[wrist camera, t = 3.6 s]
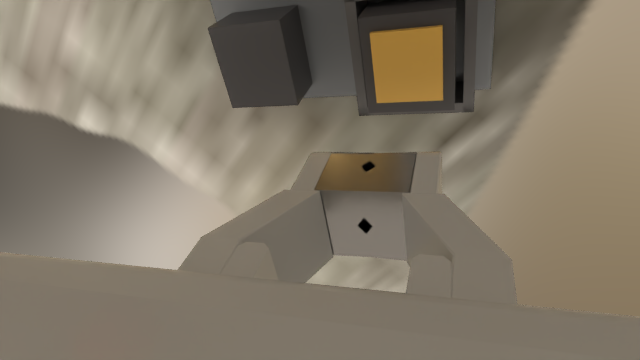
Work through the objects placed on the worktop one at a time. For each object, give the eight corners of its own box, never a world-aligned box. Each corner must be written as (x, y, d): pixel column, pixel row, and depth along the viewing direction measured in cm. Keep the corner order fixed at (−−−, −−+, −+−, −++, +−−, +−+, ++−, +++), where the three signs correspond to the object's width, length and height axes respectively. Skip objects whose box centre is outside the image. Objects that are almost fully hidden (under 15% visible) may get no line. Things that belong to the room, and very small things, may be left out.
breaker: (367, 3, 16) (356, 19, 14) (456, -7, 15) (455, 9, 13) (377, 91, 18) (367, 115, 16) (455, 87, 17) (454, 112, 15)
